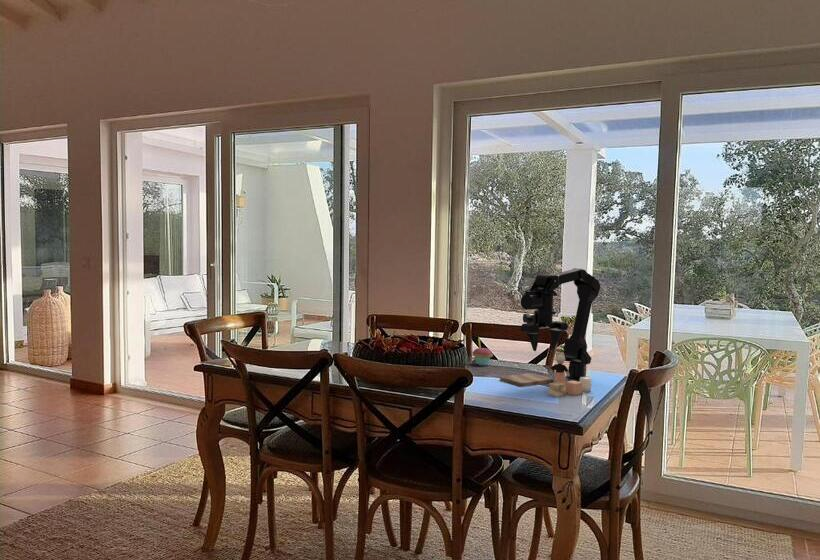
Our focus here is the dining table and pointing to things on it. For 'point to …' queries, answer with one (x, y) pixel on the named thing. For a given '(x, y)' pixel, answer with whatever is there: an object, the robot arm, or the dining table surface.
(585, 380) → the off-white cylinder
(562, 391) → the beech block
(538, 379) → the walnut board
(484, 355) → the cupcake
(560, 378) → the grandmother figurine
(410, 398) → the dining table surface
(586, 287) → the robot arm
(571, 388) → the terracotta block
